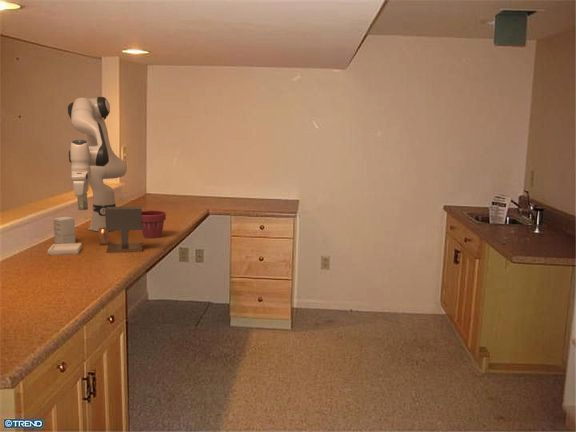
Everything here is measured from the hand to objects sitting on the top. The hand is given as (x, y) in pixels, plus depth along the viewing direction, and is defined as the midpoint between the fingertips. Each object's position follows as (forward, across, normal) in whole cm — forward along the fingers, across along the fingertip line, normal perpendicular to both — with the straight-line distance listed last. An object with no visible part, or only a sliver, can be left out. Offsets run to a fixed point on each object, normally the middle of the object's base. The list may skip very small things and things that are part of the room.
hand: (82, 202), depth 276 cm
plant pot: (+21, -15, +32) cm, 41 cm away
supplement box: (+21, -6, -10) cm, 24 cm away
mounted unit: (+21, +12, +20) cm, 31 cm away
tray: (+21, +12, -7) cm, 25 cm away
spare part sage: (+3, 0, 0) cm, 3 cm away
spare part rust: (+21, 0, +9) cm, 23 cm away
